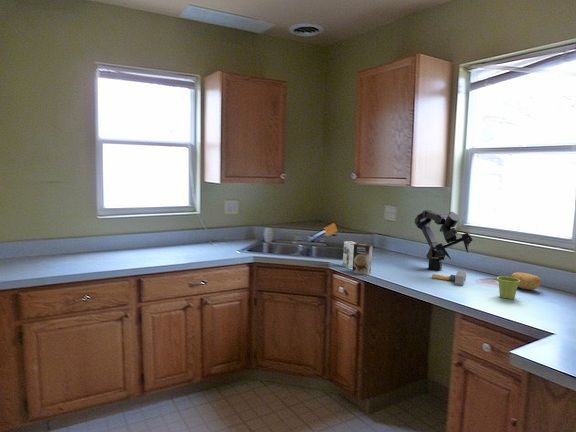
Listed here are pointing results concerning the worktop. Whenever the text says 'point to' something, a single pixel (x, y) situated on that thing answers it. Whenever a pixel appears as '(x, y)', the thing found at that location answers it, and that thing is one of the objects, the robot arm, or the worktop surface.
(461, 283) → the housing
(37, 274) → the worktop surface
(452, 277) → the plug
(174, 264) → the worktop surface
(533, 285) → the potato
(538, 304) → the worktop surface
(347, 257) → the syrup box
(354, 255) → the coffee box
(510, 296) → the plant pot
